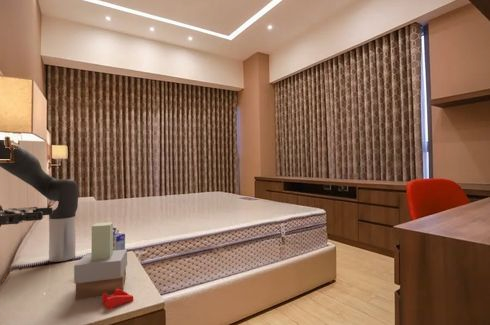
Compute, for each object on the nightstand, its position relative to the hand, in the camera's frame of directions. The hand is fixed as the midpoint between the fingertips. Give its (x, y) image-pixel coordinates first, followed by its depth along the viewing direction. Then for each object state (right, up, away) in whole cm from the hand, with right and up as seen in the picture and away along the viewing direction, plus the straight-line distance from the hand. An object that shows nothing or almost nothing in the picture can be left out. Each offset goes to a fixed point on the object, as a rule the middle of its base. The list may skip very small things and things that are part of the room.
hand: (47, 213), depth 77 cm
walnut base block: (+14, -24, +4) cm, 28 cm away
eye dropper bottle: (+5, -25, +32) cm, 41 cm away
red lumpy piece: (+23, -24, -5) cm, 34 cm away
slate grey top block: (+14, -19, +4) cm, 24 cm away
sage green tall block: (+14, -14, +4) cm, 20 cm away
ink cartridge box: (+7, -25, +22) cm, 34 cm away
